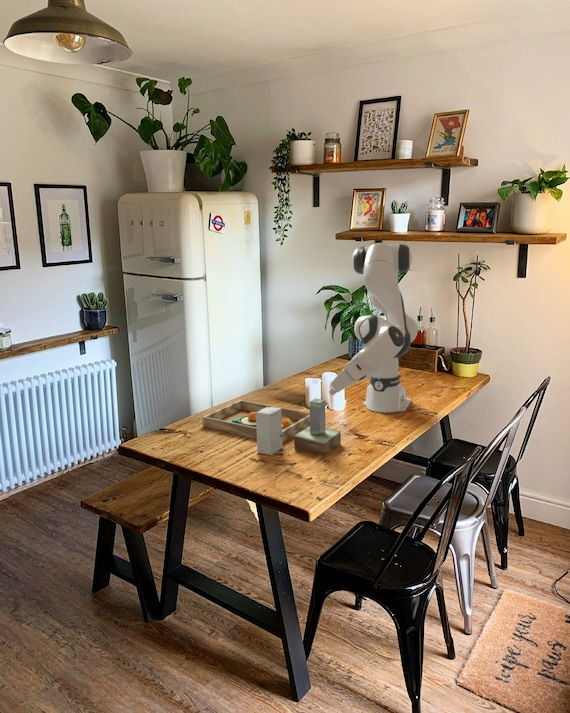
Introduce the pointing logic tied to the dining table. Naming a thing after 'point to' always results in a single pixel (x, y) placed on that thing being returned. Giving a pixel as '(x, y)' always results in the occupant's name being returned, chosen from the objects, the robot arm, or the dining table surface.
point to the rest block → (317, 441)
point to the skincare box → (269, 430)
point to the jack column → (317, 417)
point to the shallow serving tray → (216, 423)
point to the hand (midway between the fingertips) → (337, 389)
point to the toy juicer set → (251, 420)
